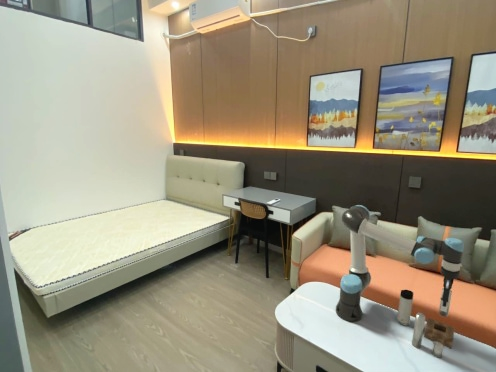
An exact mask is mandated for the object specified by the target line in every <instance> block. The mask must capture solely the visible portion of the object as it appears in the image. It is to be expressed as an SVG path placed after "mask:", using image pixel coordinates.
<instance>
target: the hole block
mask: <svg viewBox="0 0 496 372" xmlns="http://www.w3.org/2000/svg"><path fill="white" fill-rule="evenodd" d="M425 323H426V324H425V326H424V331H423V338H424V339H427V340H430V341H432V342H433V343H434V342H435V341H437V342H440V343H442V344H443V346H444V347H446V348H448V349H450V350H451V349H452V346H453V341H454V335H455V329H456V328H455V327H452V326H451V325H448V324H446V323H443V322H439V321H437V320H435V319H432V318H429V317H427V320H426V322H425Z"/></svg>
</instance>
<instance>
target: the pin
mask: <svg viewBox="0 0 496 372" xmlns="http://www.w3.org/2000/svg"><path fill="white" fill-rule="evenodd" d="M443 290H444V287H443V288H442V290H441V296H440V298H442V297H443ZM452 293H453V291H452V289H450V293H449V299H448V300H449V301H448V307H447V312H444V311H441V310H440V308H441V302H442V300H441V299H440V302H439V308H438V314H439V315H440V316H443V317H448V316H449V313H450V312H449V311H450V305H451V300H452Z"/></svg>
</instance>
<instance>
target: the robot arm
mask: <svg viewBox="0 0 496 372" xmlns="http://www.w3.org/2000/svg"><path fill="white" fill-rule="evenodd" d="M370 217H371V213H370V210H369V209H368V208H367V207H366V206H364V205H361V204H357V205H353V206H351V207H350V208H348V209H346V210H345V211H344V212H343V213H342V215H341V223H342V224H343V226H344V227H345V229H348V230H349V231H350V235H349V236H350V237H349V238H350V265H349V266H348V274H345V275H343V276H342V277H341V280H340V288H339V289H340V290H339V298H338V299H339V300H338V302H337V304H336V305H335V313H336V315H337V316H338V317H339V318H340V319H342V320H344V321H346V322H351V323H354V322H355V323H356V322H359V321H360V320H362V316H363V311H362V307H361V295H362V294H363V292H364V291H365V290H366V289H367V287H368V286H369V285H370V284H371V281H372V275H371V273H370V271H369V267H367V262H366V261H367V258H366V252H367V251H366V236H367V237H369V238H371V239H373V240H375V241H378V242H380V243H382V244H384V245H387V246H389V247H391V248H393V249H396V250H399V251H401V252H403V253H405V254H408V255H410V256H412V257H414V259H415V260H416V261H417V262H418V263H419V264H422V265H428V264H431V262H433V260H434V259H435V256H436V255H439V256H442V258H441V259H442V260H441V267H440V274H441V275H442V276H443V280H442V281H443V288H444V290H443V297H442V298H441V297H440V299H439V300H440V301H441V300H442V302H441V308H440V310H441V311H444V312H447V307H448V301H449V300H448V299H449V293H450V290H452V288H453V284H454V281H455V280H456V279H459V278H460V272H461V271H460V270H461V267H463V264H462V259H463V254H464V250H465V249H464V248H465V247H464V246H465V244H464V241H463V240H461V239H459V238H455V237H447V238H445V240H441V239H436V238H431V237H429V236H422V235H421V236H420V235H419V236H418V237H417V239H416V240H414V239H411V238H409V237H406V236H404V235H401V234H399V233H396V232H394V231H392V230H389V229H387V228H385V227H382V226H379V225H377V224H375V223H372V222H370V221H369V220H370Z"/></svg>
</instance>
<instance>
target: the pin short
mask: <svg viewBox="0 0 496 372" xmlns="http://www.w3.org/2000/svg"><path fill="white" fill-rule="evenodd" d="M444 347H445V346H443V344H442V343H440V342H437V341H435V342H434V341H433V346H432V351H431V354H432V356H434V358H437V359H441V358H442V357H443V353H444Z"/></svg>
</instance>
